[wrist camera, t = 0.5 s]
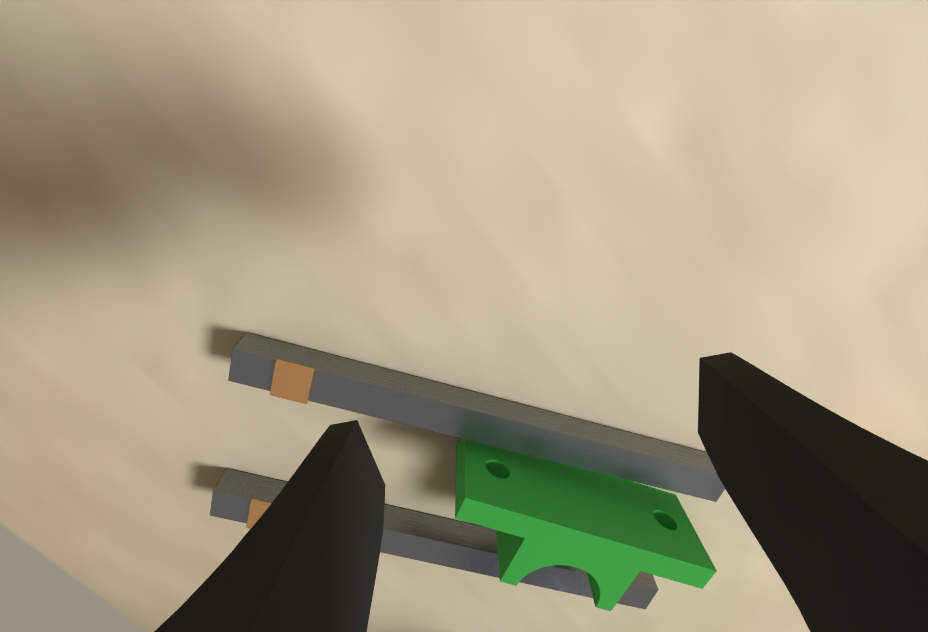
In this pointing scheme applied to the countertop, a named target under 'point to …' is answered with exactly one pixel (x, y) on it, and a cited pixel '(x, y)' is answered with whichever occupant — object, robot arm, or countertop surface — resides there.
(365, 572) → the robot arm
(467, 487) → the pipe clamp
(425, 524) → the guide track
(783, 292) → the countertop surface
